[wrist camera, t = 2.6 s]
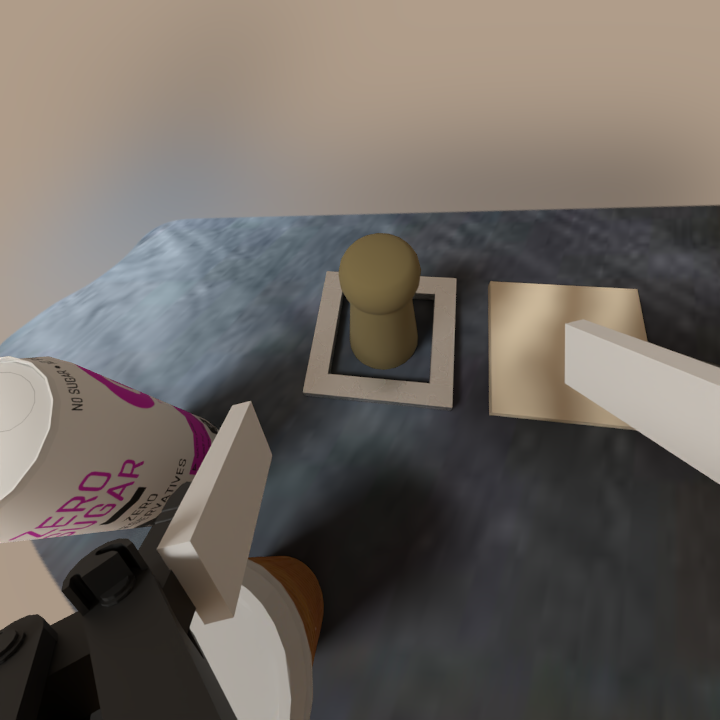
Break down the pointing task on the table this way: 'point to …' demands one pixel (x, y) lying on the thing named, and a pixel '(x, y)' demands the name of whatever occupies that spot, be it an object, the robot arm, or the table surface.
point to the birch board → (549, 347)
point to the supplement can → (87, 451)
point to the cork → (381, 299)
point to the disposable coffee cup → (267, 641)
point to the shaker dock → (385, 390)
